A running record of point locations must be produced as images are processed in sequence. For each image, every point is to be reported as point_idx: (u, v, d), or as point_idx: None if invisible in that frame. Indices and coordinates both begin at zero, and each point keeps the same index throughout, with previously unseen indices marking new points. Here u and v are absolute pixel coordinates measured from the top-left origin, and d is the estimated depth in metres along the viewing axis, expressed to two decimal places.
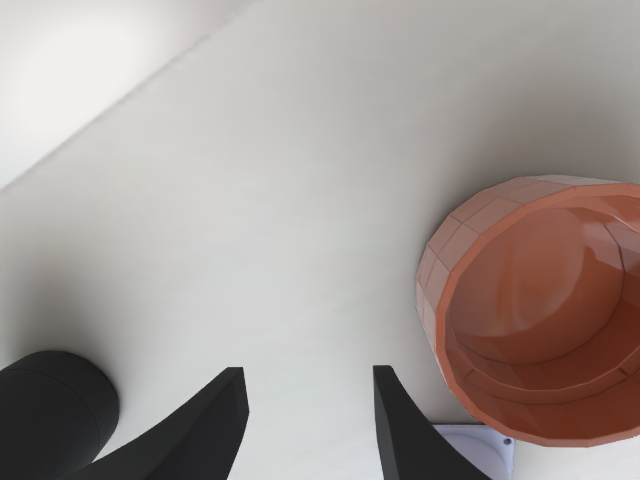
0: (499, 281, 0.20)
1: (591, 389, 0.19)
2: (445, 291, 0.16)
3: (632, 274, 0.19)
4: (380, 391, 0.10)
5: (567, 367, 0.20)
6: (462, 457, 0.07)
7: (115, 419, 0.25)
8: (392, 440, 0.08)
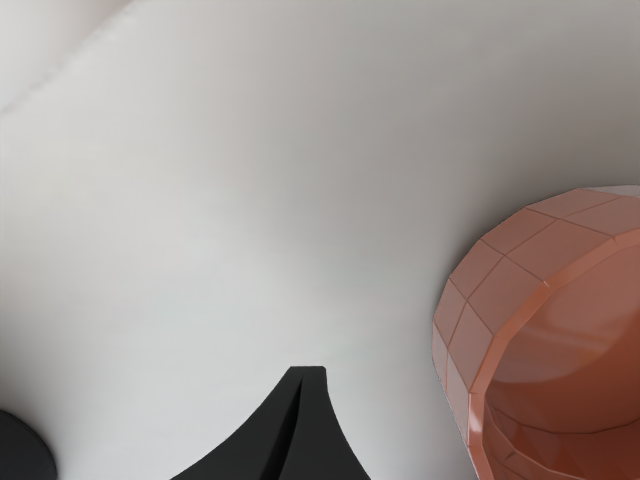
0: (545, 327, 0.15)
1: None
2: (485, 362, 0.10)
3: None
4: (301, 391, 0.11)
5: (637, 443, 0.15)
6: (351, 456, 0.08)
7: None
8: (293, 439, 0.08)
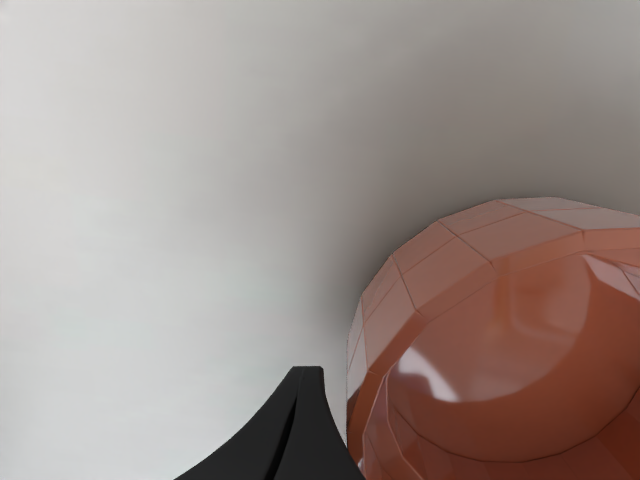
0: (468, 349, 0.14)
1: None
2: (362, 399, 0.09)
3: None
4: (298, 391, 0.11)
5: (566, 475, 0.14)
6: (346, 455, 0.08)
7: None
8: (289, 439, 0.08)
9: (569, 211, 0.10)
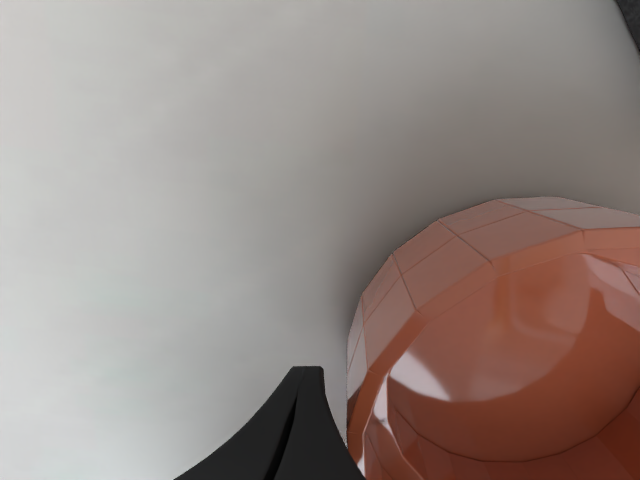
0: (468, 349, 0.14)
1: None
2: (362, 399, 0.09)
3: None
4: (298, 392, 0.11)
5: (566, 475, 0.14)
6: (347, 456, 0.08)
7: None
8: (289, 439, 0.08)
9: (569, 211, 0.10)
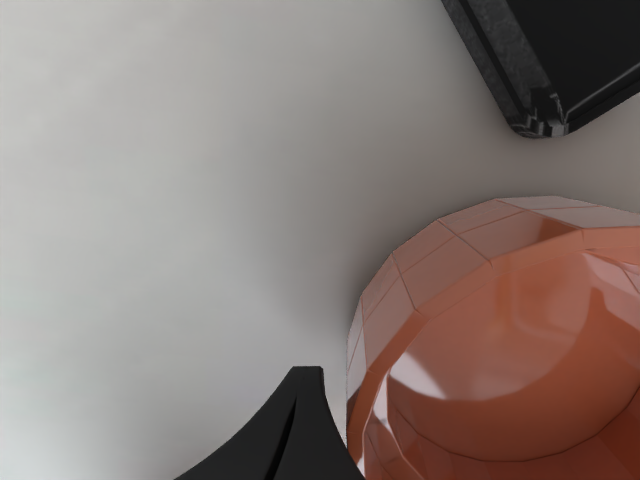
0: (468, 348, 0.14)
1: None
2: (361, 399, 0.09)
3: None
4: (298, 391, 0.11)
5: (567, 475, 0.14)
6: (346, 455, 0.08)
7: None
8: (289, 439, 0.08)
9: (569, 210, 0.09)
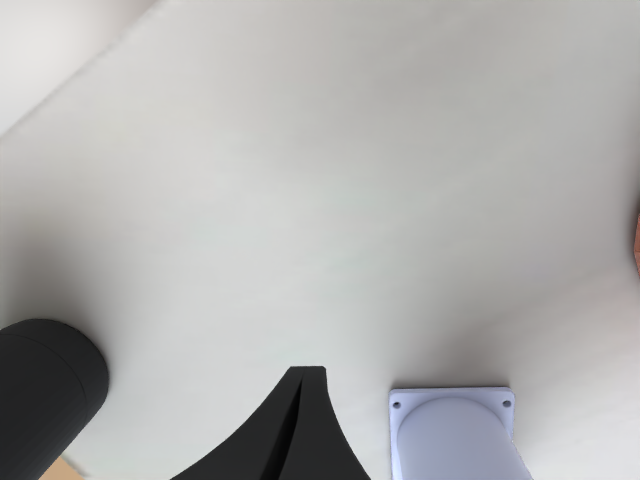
0: None
1: None
2: None
3: None
4: (301, 391, 0.11)
5: None
6: (351, 456, 0.08)
7: (104, 388, 0.24)
8: (293, 439, 0.08)
9: None
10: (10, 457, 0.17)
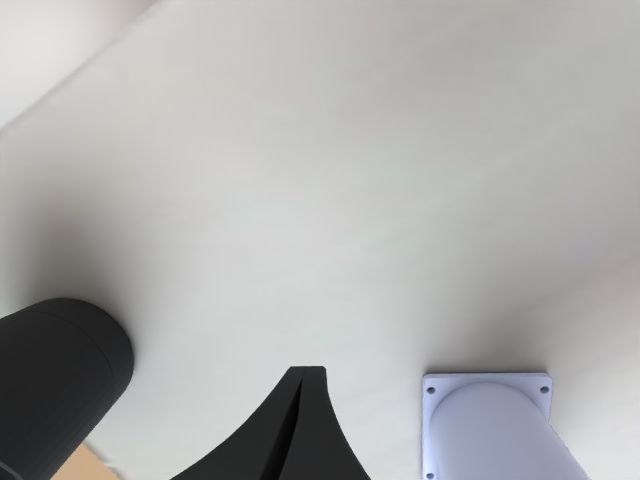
0: None
1: None
2: None
3: None
4: (301, 391, 0.11)
5: None
6: (351, 456, 0.08)
7: (129, 370, 0.24)
8: (293, 439, 0.08)
9: None
10: (44, 433, 0.17)
